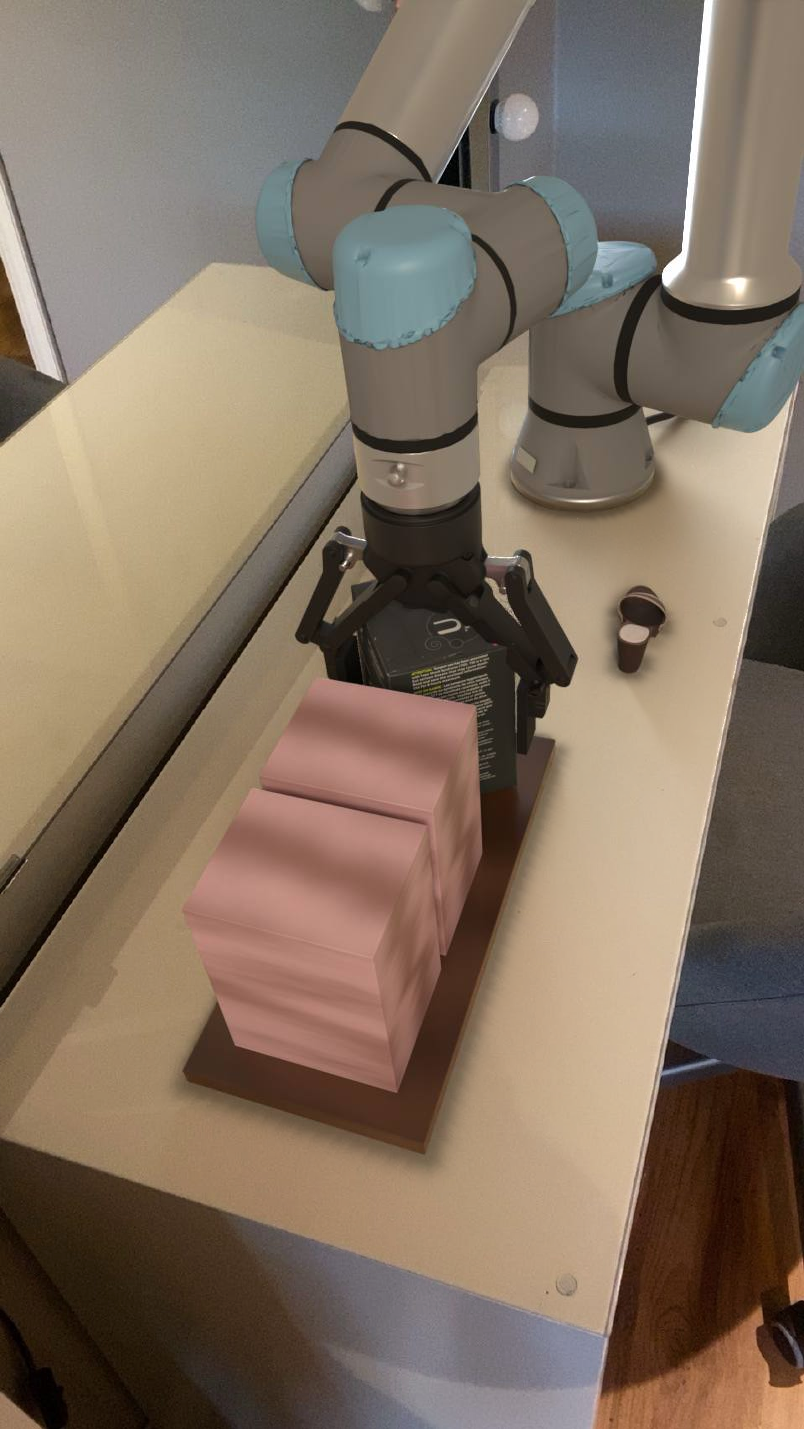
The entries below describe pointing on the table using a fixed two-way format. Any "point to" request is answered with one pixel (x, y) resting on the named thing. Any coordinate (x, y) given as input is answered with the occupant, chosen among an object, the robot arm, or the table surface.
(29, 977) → the table surface
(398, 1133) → the pink stack on tray
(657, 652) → the table surface
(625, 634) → the heeled mule
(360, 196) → the robot arm
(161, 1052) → the table surface
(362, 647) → the tampon box
